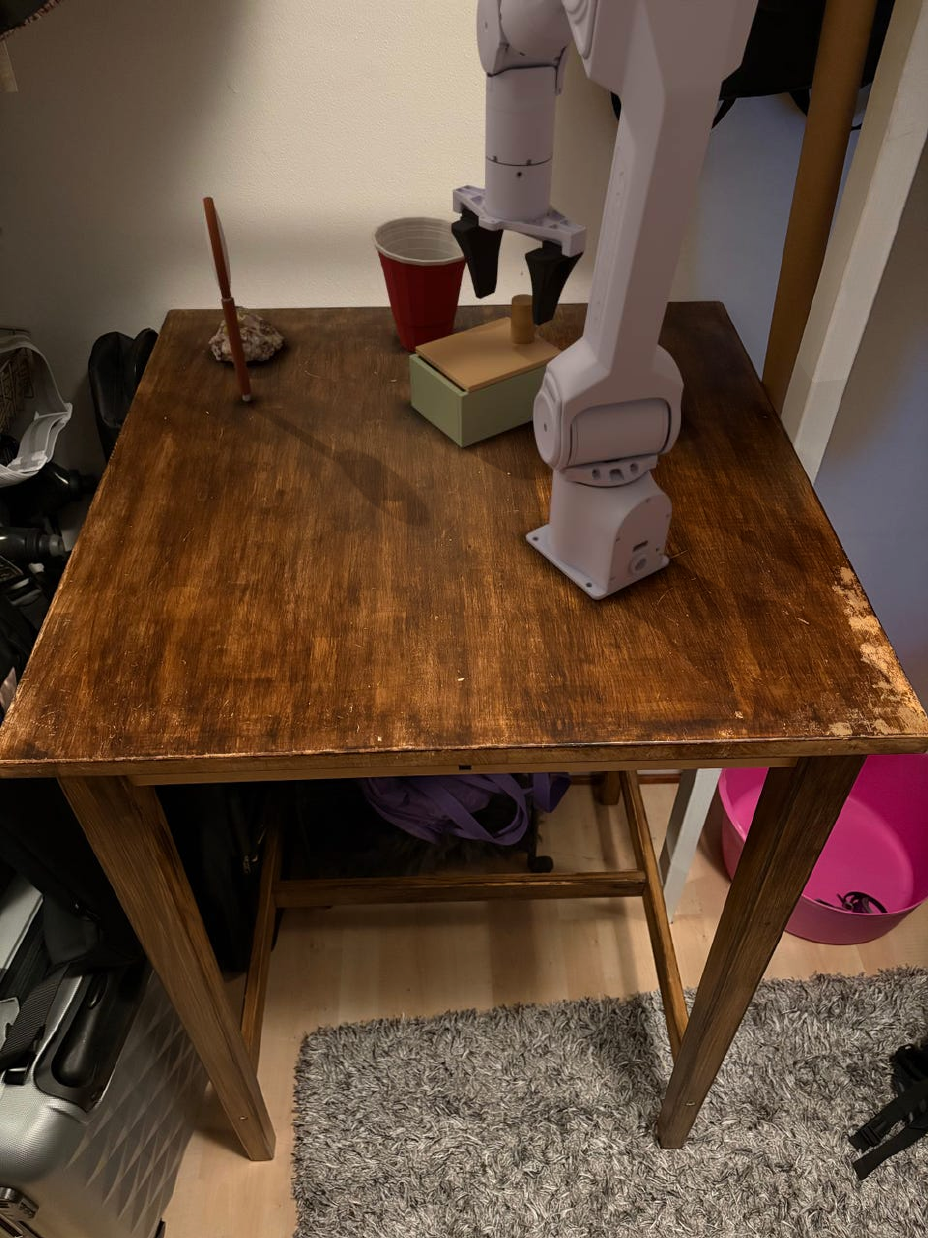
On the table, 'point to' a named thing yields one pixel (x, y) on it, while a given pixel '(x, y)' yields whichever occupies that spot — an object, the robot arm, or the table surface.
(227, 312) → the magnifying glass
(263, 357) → the mineral rock
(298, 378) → the table surface
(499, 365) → the lid
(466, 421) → the box
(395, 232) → the plastic cup
